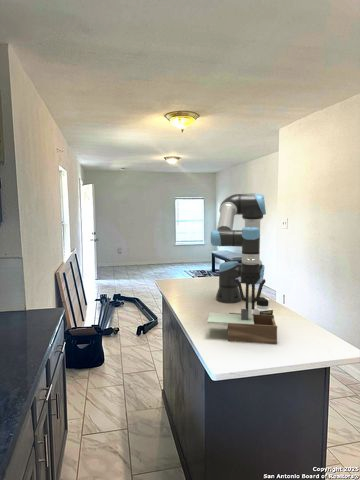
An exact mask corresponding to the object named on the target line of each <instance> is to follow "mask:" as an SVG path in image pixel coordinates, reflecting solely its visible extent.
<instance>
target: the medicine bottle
mask: <svg viewBox="0 0 360 480" xmlns="http://www.w3.org/2000/svg"><path fill="white" fill-rule="evenodd" d="M252 314H260V315H274V309H273V308H271V307H270V299H269V298H268V297H265V296H260V298H259V301H256V306H255V308H254V310H253V309H252Z"/></svg>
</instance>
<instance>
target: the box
mask: <svg viewBox="0 0 360 480" xmlns="http://www.w3.org/2000/svg"><path fill="white" fill-rule="evenodd" d="M228 314H241V312H240V313H239V312H238V313H236V312H229V313H228ZM252 315H253V319H254V324H238V323H228V325H227V342H237V343H239V342H241V343H252V344H254V343H255V344H269V345H277V344H278V325H277V324H276V321H275V316H274V314H273V315H260V314H253V313H252Z"/></svg>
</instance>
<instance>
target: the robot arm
mask: <svg viewBox="0 0 360 480" xmlns="http://www.w3.org/2000/svg"><path fill="white" fill-rule="evenodd" d="M266 212H267V211H266V204H265V195H264V194H262V193H235V194H232V195H229V196H228V197H226V198H225V199H224V200H223V201H222V202H221V203H220V205H219V218H218V222H217V227H216V229H213V230H211V231H210V244H211V246H213V247H214V246H215V247H241V264H240V263H239V261H235V260H229V261H225V262H221V263H220V264H219V267H218V268H219V269H218V289H217V293H216V294H215V295H216V296H215V300H216V301H217V302H220V303H225V304H226V303H227V304H228V303H229V304H235V303H239V302H241V301H242V302H245V309H248V317H252V314H253V310H254V308H255V303H257V301H259V298H260V297H261V294H262V291H263V286H264V285H265V283H266V279H265V278H264V275H265V265H264V264H263V261H262V260H261V258H260V253H261V252H260V249H261V247H260V246H261V221H262V219H264V215H266V214H267V213H266ZM237 215H238V216H241V215H242V216H241V218H242V220H244V227H243V228H242V229H241V230H238V229H236V230H235V229H233V228H234V221H235V216H237ZM242 284H243V285H245V295H244V291H243V288H242ZM250 285H251V300H249V296H250V295H249V293H250V292H249V291H250ZM256 285H258V289H257V293H256Z"/></svg>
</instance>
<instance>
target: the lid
mask: <svg viewBox="0 0 360 480" xmlns="http://www.w3.org/2000/svg"><path fill="white" fill-rule="evenodd" d="M240 311H241V312H240V313H241V314H229V313H223V312H222V313H220V312H219V313H217V312H209V314H208V318H207V324H211V325H226V326H228V323H238V324H254V319H253V315H252V317H248V309H246V308H241V309H240Z"/></svg>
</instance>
